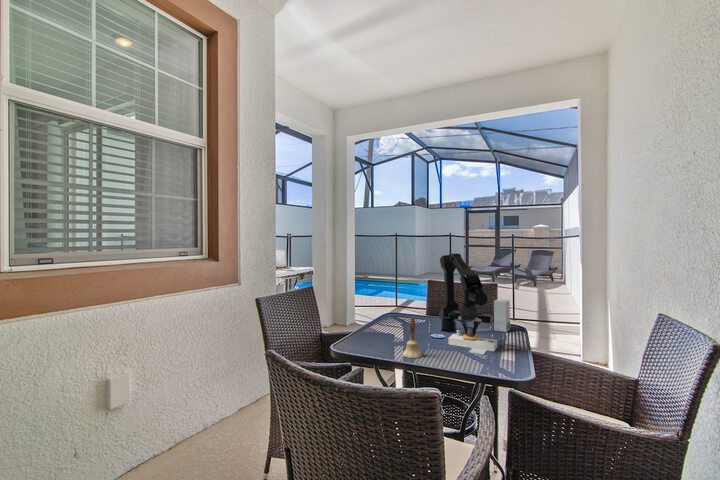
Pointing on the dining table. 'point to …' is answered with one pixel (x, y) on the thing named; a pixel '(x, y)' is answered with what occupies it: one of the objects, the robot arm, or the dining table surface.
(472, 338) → the plug
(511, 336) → the dining table surface
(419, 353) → the hand bell
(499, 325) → the skincare box
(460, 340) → the power strip
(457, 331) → the clip
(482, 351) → the mat
